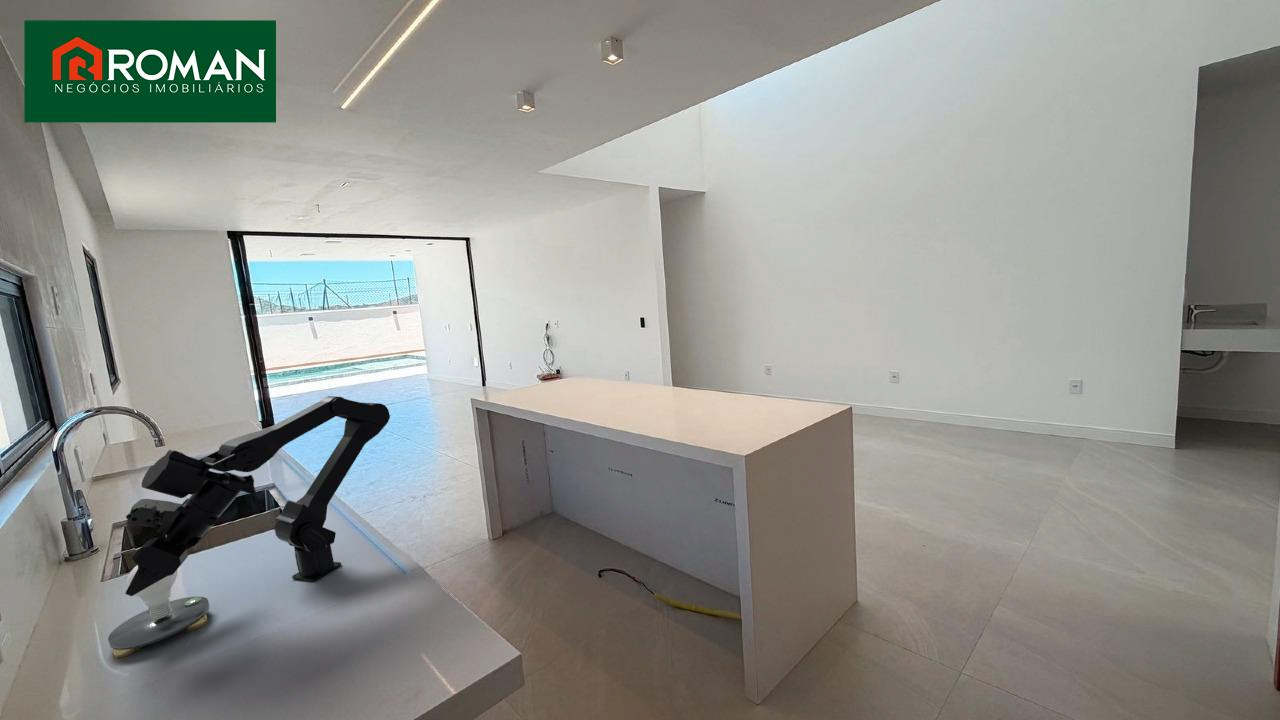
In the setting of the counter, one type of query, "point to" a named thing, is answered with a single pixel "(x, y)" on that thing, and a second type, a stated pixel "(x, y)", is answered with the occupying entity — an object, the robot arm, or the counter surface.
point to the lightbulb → (156, 595)
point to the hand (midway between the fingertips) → (140, 581)
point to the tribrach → (158, 625)
